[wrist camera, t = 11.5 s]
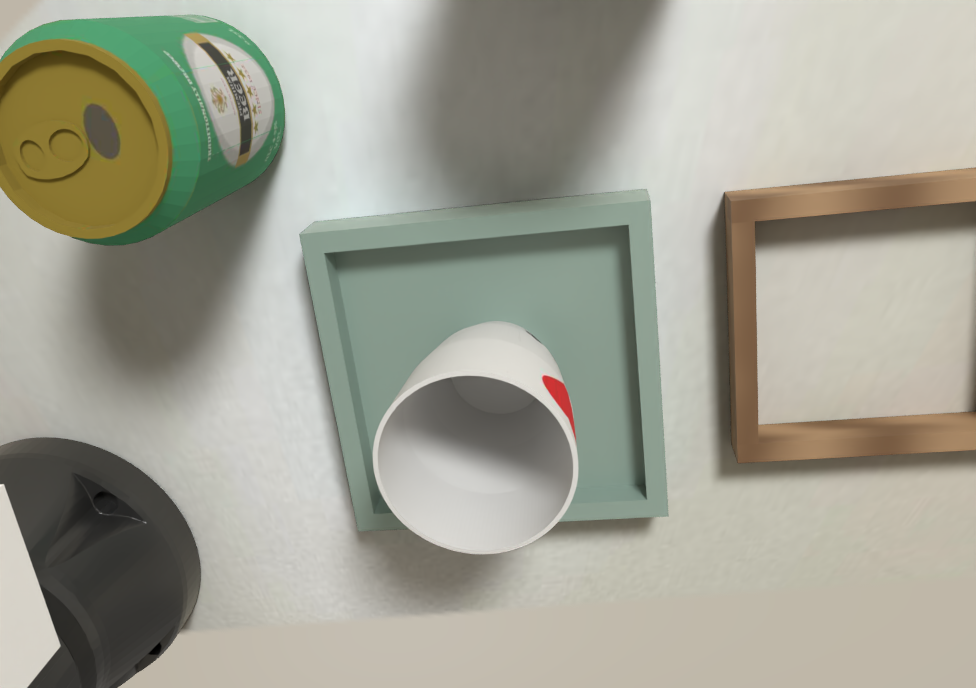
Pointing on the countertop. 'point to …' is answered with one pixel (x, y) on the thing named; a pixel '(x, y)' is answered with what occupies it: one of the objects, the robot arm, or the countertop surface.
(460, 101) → the countertop surface
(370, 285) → the tray
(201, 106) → the beverage can
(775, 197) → the frame
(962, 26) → the countertop surface
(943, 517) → the countertop surface
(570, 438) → the cup
